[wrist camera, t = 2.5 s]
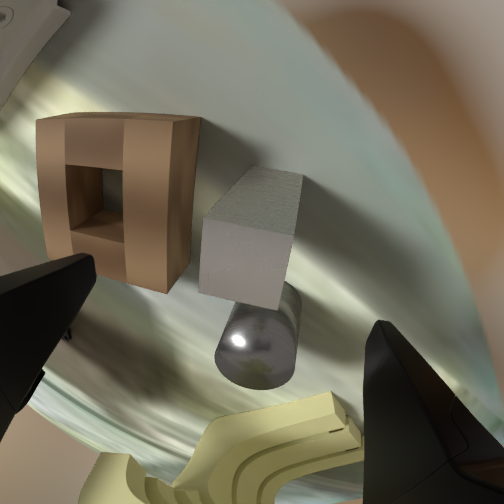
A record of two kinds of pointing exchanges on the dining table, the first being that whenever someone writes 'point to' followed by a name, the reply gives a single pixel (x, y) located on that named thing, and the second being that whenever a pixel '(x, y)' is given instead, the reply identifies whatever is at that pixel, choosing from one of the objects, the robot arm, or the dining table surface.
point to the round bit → (261, 343)
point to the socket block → (134, 192)
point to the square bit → (251, 238)
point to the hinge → (24, 36)
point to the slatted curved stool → (239, 458)
